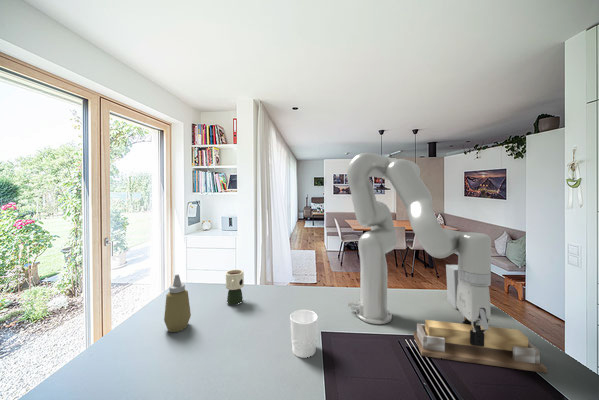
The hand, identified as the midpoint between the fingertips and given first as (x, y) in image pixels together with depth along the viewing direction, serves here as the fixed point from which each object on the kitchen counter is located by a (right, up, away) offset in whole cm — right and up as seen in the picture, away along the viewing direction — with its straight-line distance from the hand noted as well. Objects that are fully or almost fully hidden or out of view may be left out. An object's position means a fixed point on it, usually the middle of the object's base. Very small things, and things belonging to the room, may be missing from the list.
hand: (472, 339), depth 69 cm
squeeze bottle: (-91, -4, +13) cm, 92 cm away
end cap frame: (0, -4, 0) cm, 4 cm away
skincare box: (+15, -3, +29) cm, 32 cm away
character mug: (-76, -3, +31) cm, 82 cm away
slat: (0, -1, 0) cm, 1 cm away
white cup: (-48, -4, +1) cm, 48 cm away
